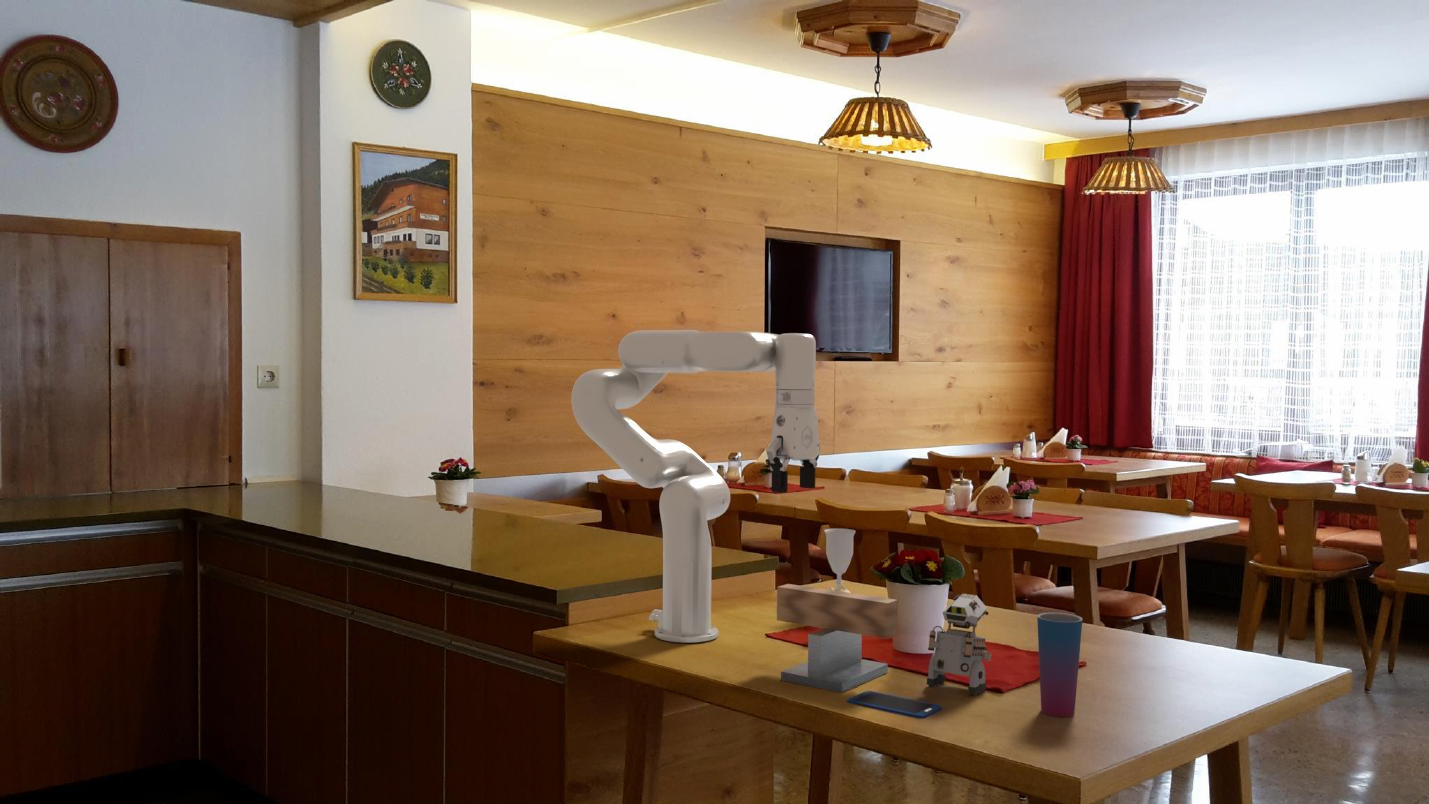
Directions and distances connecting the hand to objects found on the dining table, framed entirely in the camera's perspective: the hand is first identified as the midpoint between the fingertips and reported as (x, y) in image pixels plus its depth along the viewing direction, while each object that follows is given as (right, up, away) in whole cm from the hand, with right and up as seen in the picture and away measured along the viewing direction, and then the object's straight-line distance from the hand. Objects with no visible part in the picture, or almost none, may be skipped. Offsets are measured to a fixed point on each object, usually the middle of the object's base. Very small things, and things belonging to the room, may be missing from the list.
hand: (793, 490), depth 220 cm
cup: (+39, -32, -36) cm, 62 cm away
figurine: (+27, -32, -23) cm, 47 cm away
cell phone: (+14, -32, -34) cm, 49 cm away
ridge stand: (+6, -31, -17) cm, 36 cm away
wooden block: (+6, -23, -17) cm, 29 cm away
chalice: (+12, -30, +33) cm, 46 cm away
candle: (+10, -30, +11) cm, 34 cm away
